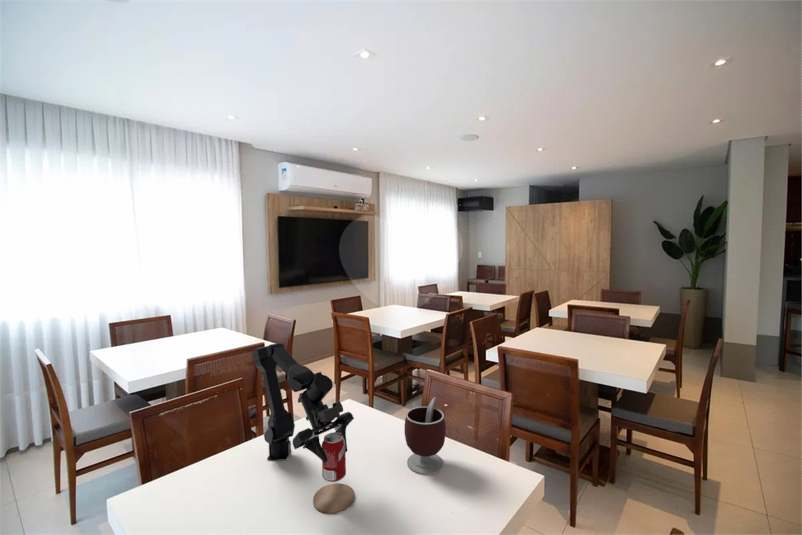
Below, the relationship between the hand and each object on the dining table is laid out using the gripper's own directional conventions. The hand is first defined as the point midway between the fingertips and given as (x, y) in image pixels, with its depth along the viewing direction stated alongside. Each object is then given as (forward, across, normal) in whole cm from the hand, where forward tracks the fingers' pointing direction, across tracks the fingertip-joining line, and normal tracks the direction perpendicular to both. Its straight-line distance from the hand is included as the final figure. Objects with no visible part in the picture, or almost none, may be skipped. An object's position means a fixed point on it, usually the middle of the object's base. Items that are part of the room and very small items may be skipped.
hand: (336, 456), depth 107 cm
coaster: (+9, 0, +10) cm, 13 cm away
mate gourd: (+14, +32, +5) cm, 36 cm away
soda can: (+4, 0, +6) cm, 7 cm away
